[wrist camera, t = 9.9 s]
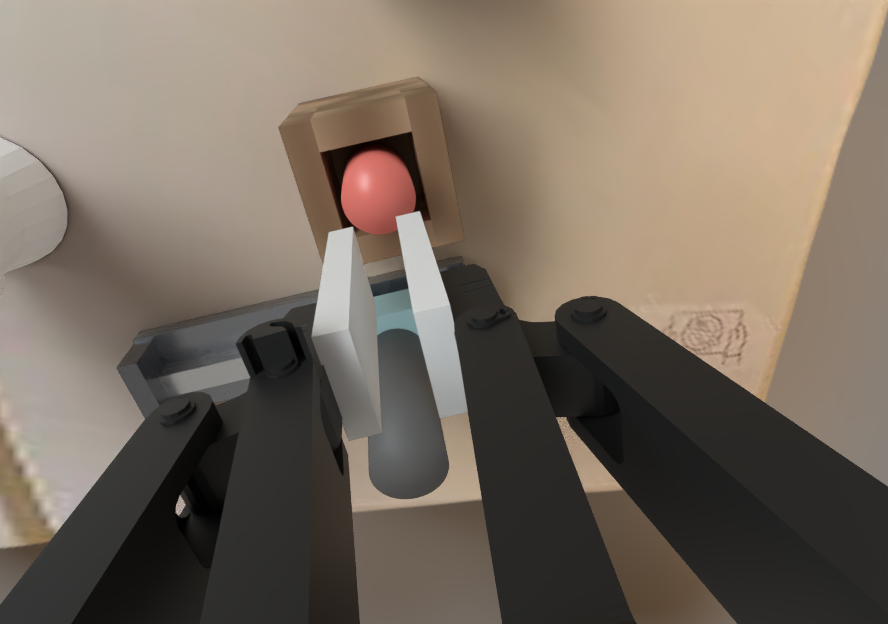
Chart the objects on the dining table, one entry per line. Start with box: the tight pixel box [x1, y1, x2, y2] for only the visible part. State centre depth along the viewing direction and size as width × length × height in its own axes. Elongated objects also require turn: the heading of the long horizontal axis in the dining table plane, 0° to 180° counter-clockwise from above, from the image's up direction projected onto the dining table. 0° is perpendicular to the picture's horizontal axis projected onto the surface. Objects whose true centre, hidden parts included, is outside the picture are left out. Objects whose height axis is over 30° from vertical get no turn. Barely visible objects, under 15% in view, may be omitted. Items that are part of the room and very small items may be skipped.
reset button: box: [341, 142, 416, 235], centre depth 26 cm, size 3×3×4 cm
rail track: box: [117, 256, 465, 419], centre depth 37 cm, size 22×6×4 cm, turn 101°
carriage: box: [368, 289, 449, 499], centre depth 31 cm, size 6×6×13 cm
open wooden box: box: [278, 77, 464, 264], centre depth 30 cm, size 7×8×9 cm
